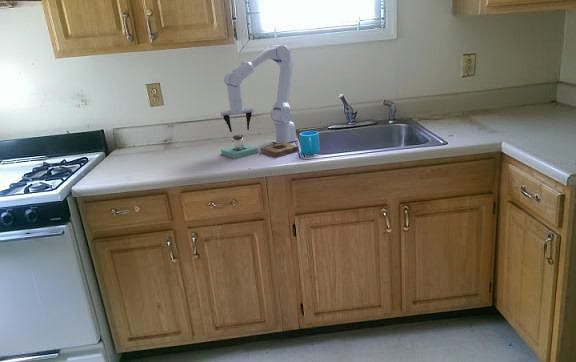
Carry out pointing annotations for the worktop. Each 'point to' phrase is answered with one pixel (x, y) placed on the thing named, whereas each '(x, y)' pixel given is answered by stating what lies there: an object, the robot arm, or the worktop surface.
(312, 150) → the mug
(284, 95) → the robot arm
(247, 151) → the socket board
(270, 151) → the mount board
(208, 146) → the worktop surface
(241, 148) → the lock pin
